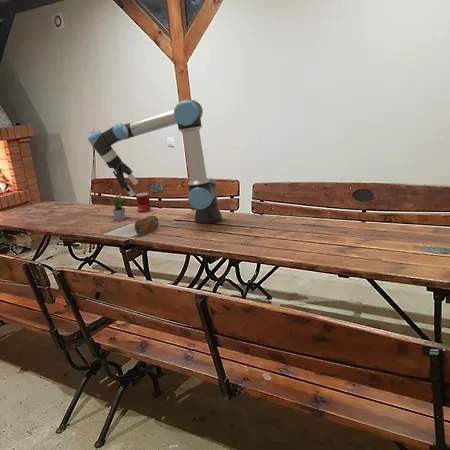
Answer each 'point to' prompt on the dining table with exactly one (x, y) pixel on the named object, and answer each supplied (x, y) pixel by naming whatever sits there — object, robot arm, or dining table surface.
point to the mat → (123, 232)
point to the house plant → (118, 207)
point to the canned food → (143, 202)
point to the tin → (146, 225)
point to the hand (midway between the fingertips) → (134, 189)
